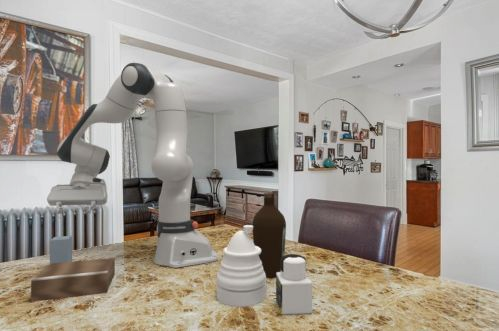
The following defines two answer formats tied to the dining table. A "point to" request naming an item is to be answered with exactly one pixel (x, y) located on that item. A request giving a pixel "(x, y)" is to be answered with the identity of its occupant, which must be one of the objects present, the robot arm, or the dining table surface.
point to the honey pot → (241, 272)
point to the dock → (73, 279)
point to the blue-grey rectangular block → (61, 249)
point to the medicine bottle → (293, 286)
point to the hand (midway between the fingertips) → (73, 212)
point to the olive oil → (270, 235)
